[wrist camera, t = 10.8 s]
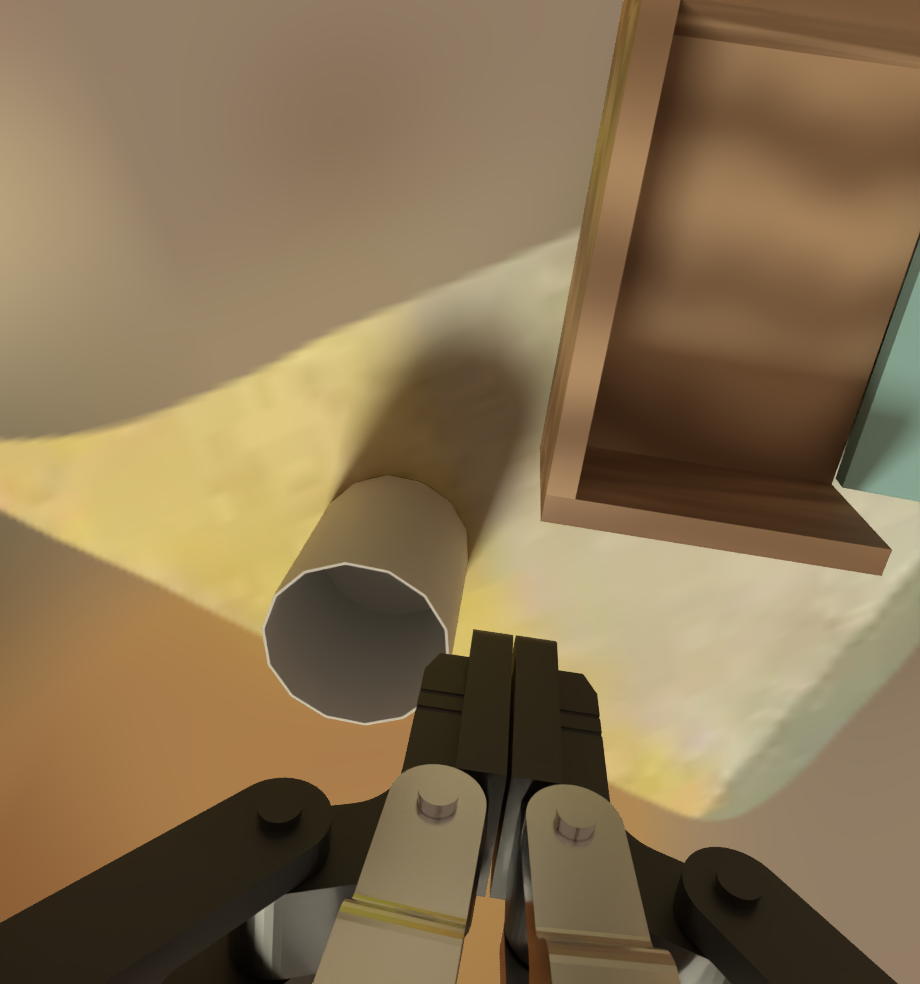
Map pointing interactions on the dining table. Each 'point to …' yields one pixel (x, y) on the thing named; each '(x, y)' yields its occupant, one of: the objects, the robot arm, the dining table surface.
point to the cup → (369, 601)
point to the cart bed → (736, 274)
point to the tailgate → (891, 408)
